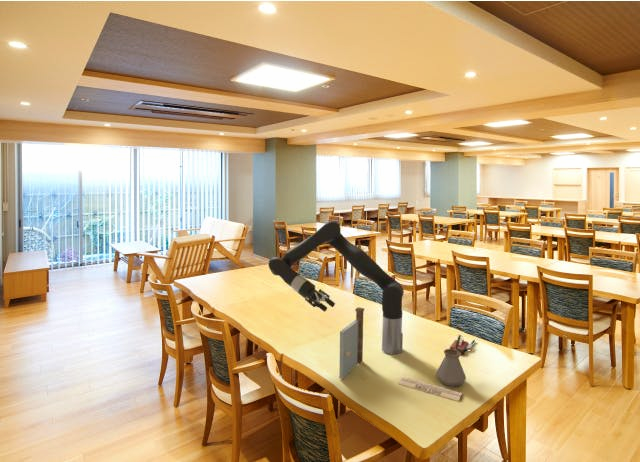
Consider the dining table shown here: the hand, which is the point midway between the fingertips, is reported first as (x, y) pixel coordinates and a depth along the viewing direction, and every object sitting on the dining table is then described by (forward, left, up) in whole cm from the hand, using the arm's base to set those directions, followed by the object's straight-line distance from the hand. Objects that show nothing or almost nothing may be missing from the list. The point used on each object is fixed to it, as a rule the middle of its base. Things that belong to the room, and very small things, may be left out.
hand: (330, 307), depth 176 cm
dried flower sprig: (-66, -13, -26) cm, 72 cm away
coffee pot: (-51, +16, -25) cm, 59 cm away
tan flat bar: (-38, +26, -26) cm, 53 cm away
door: (-9, +11, -24) cm, 28 cm away
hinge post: (-13, +2, -25) cm, 28 cm away
